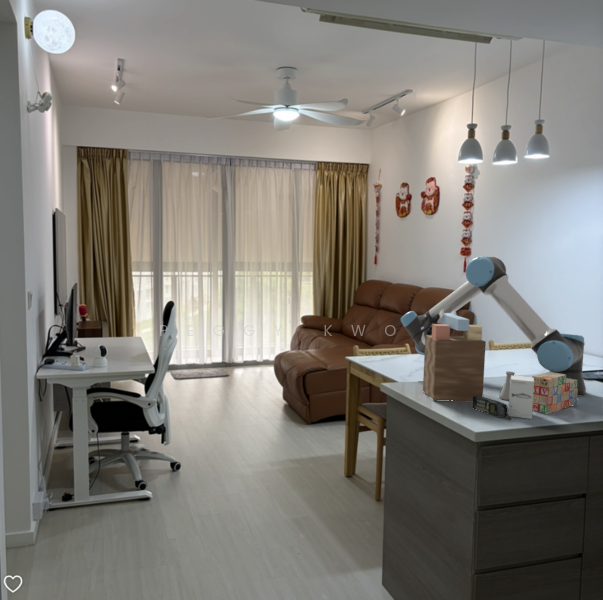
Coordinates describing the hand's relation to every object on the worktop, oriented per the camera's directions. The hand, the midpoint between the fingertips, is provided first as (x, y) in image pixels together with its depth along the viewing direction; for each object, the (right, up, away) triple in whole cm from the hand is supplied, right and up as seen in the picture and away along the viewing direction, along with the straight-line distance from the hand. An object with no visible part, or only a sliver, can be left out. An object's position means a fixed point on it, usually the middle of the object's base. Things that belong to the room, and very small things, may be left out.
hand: (449, 312), depth 215 cm
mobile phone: (+7, -34, -27) cm, 44 cm away
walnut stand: (0, -31, -5) cm, 32 cm away
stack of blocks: (+33, -33, -16) cm, 49 cm away
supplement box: (+16, -34, -28) cm, 47 cm away
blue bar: (0, -5, -5) cm, 7 cm away
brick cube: (-6, -9, -9) cm, 14 cm away
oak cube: (+6, -10, -9) cm, 14 cm away
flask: (+21, -32, -5) cm, 39 cm away
